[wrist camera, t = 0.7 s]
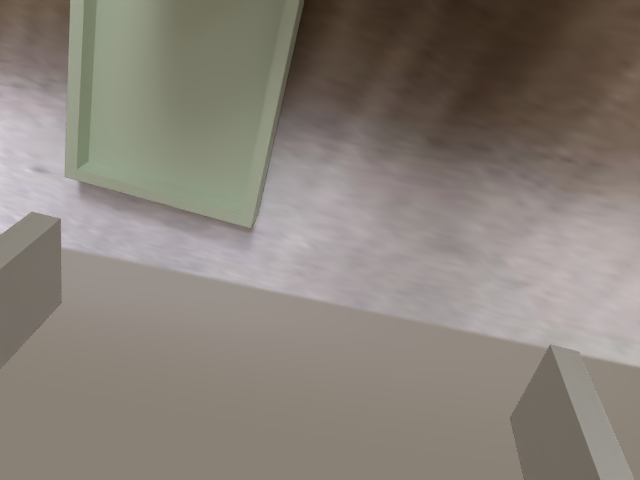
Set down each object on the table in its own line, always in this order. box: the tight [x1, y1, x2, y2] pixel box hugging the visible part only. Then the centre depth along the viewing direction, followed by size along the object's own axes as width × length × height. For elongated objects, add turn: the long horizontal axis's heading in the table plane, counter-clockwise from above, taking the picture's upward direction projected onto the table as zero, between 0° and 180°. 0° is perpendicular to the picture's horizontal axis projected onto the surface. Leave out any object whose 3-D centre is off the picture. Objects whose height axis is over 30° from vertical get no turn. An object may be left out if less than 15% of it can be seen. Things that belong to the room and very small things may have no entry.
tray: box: [65, 0, 304, 228], centre depth 35 cm, size 17×13×2 cm
